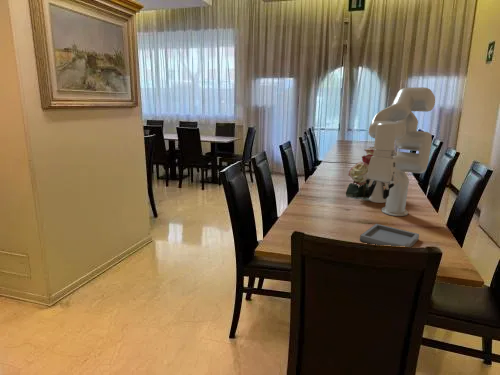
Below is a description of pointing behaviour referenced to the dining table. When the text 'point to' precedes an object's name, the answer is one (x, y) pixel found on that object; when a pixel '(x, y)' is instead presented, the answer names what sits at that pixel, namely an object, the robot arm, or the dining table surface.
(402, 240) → the serving tray
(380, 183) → the flask
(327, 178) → the dining table surface
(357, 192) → the rose bouquet
